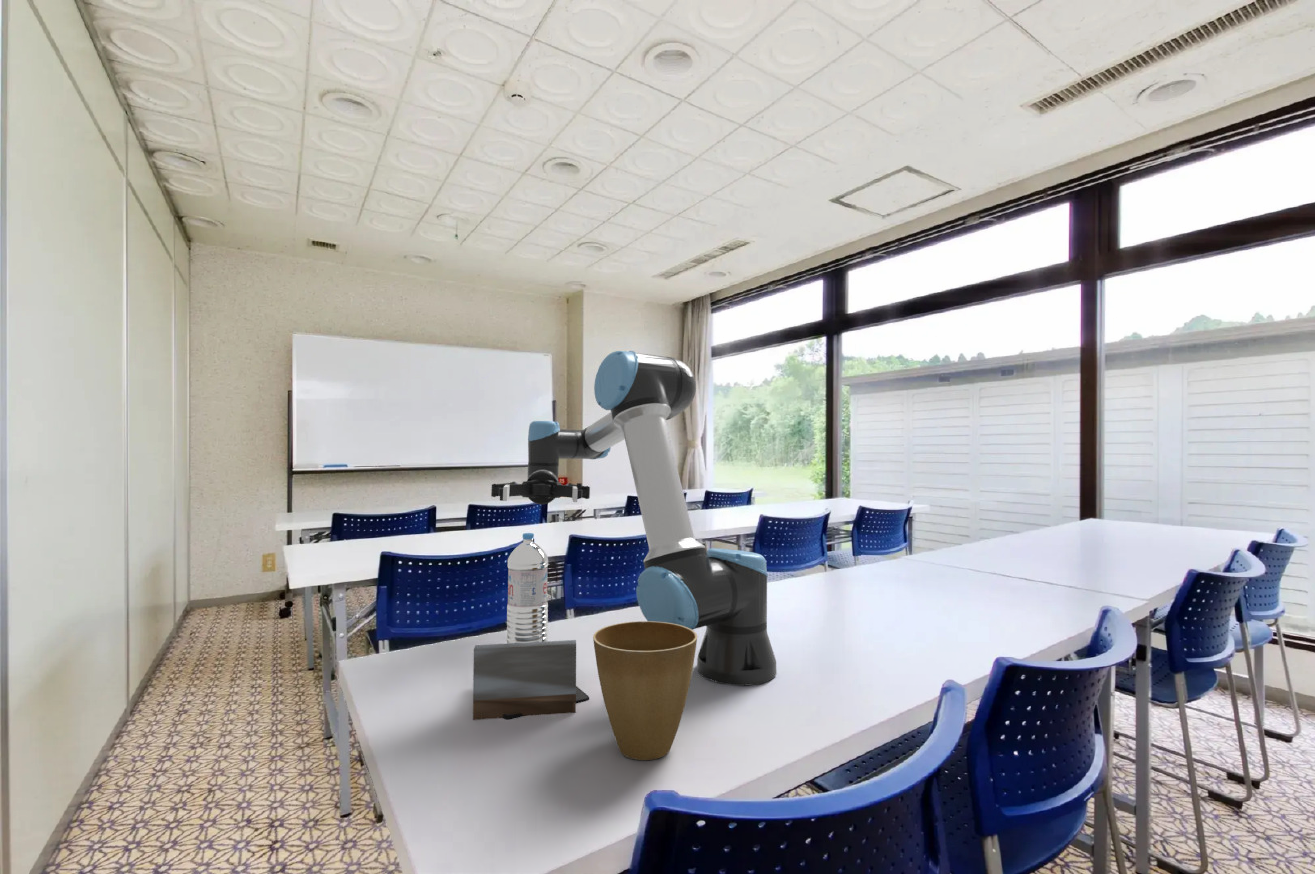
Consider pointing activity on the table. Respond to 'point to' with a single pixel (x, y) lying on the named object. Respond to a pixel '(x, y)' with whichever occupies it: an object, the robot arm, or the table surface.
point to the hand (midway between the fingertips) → (540, 494)
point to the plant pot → (645, 683)
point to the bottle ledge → (524, 679)
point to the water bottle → (527, 593)
